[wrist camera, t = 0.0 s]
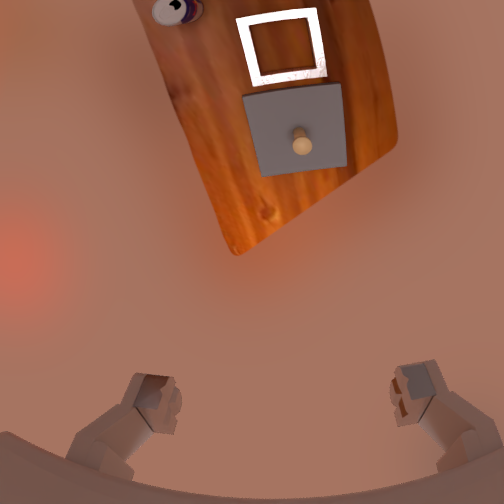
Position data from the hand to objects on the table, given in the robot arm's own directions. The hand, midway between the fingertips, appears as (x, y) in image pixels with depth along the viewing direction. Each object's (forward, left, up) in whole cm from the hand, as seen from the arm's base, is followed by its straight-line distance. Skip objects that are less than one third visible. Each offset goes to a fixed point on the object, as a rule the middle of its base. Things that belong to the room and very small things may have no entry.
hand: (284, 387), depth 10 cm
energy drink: (-3, -18, -52) cm, 55 cm away
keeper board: (+7, +12, -52) cm, 54 cm away
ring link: (-5, 0, -52) cm, 52 cm away
